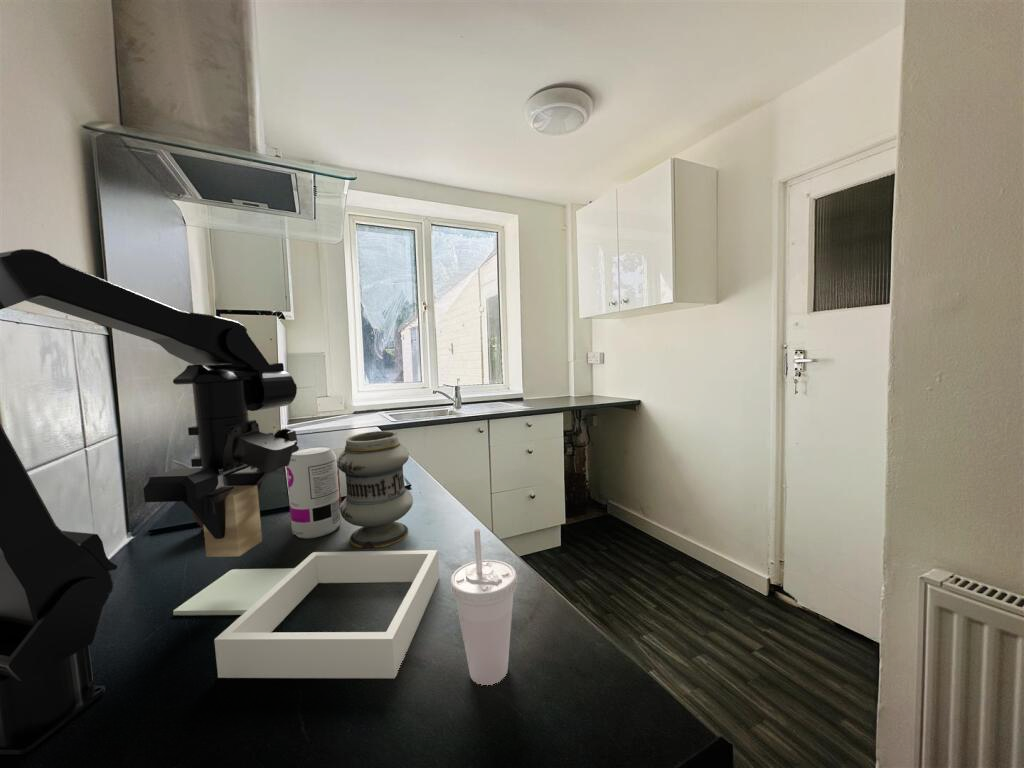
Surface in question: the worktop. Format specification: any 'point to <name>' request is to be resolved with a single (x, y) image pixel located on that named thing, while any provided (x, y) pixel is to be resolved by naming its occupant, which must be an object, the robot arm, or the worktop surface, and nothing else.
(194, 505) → the robot arm
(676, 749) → the worktop surface
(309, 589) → the white square frame
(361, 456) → the apothecary jar
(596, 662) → the worktop surface
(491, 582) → the smoothie
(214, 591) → the sage mat
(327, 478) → the supplement can
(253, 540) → the maple block
